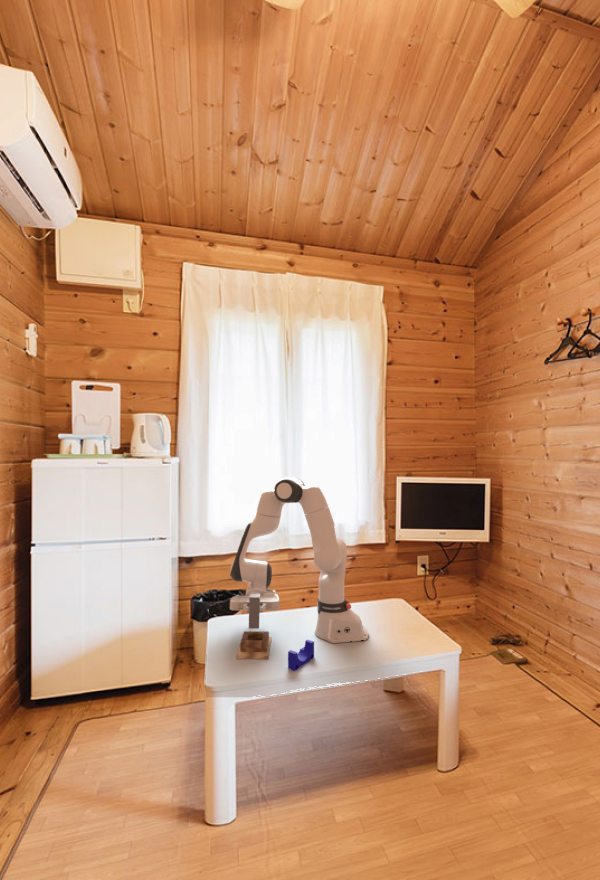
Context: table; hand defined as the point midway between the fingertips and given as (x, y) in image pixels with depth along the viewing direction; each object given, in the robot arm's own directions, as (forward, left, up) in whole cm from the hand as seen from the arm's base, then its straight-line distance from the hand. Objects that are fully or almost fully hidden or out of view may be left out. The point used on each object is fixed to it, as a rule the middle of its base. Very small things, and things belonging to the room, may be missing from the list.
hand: (254, 610), depth 158 cm
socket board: (0, -1, -15) cm, 15 cm away
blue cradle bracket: (-18, +10, -15) cm, 25 cm away
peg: (0, -1, -6) cm, 7 cm away
